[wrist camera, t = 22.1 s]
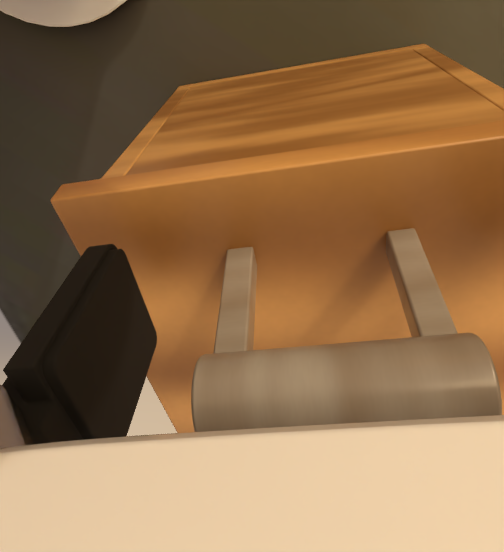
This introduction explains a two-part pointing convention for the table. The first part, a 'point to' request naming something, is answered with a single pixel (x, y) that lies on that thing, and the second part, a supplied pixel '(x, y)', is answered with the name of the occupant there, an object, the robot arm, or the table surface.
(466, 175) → the bin lid
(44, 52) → the table surface
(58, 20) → the pudding
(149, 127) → the wooden bin
